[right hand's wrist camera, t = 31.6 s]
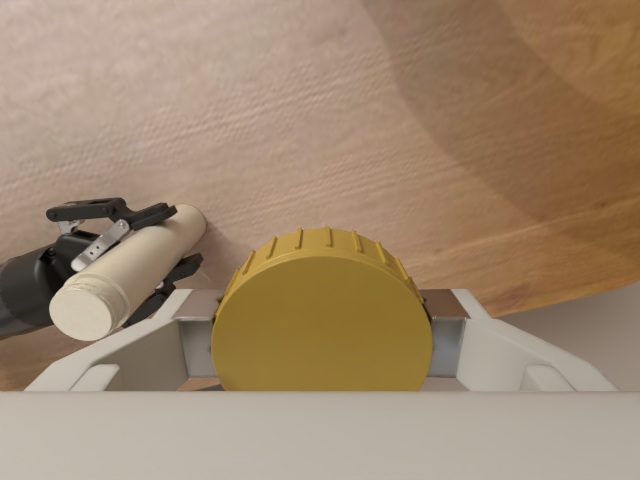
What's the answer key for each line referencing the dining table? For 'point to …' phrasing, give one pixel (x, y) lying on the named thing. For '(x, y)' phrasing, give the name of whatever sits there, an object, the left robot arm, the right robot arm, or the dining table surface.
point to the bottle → (124, 276)
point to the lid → (321, 318)
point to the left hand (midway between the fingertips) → (185, 235)
